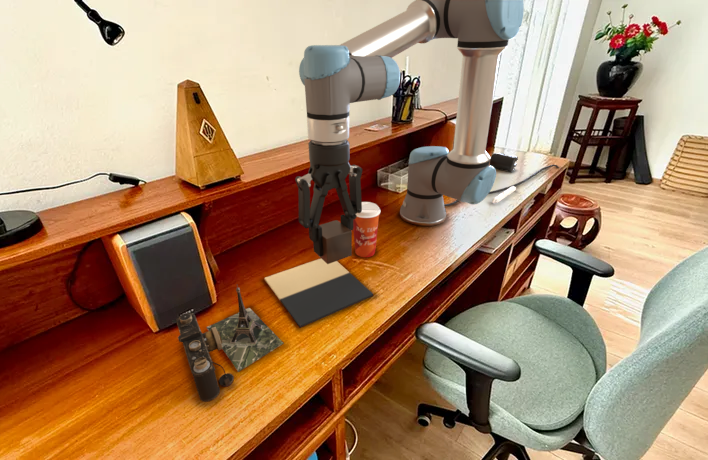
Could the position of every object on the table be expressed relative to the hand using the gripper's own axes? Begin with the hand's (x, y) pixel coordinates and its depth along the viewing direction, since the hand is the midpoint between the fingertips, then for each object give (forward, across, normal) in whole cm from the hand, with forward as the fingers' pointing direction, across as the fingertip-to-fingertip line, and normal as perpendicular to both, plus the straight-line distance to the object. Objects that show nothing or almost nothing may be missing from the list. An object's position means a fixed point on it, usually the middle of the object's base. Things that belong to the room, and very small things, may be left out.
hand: (332, 248), depth 77 cm
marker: (+14, +83, +16) cm, 85 cm away
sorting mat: (+14, -1, +6) cm, 16 cm away
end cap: (+14, +109, +36) cm, 116 cm away
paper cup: (+14, +18, +13) cm, 26 cm away
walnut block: (+1, 0, 0) cm, 1 cm away
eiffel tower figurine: (+14, -21, 0) cm, 25 cm away
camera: (+14, -29, -3) cm, 32 cm away
